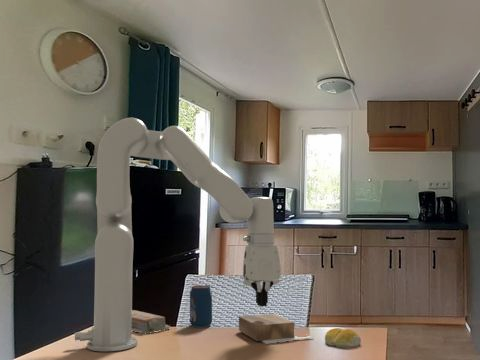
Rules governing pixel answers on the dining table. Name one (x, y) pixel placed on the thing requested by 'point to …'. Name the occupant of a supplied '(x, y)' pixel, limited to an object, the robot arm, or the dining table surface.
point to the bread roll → (342, 338)
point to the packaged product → (147, 322)
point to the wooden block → (266, 327)
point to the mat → (285, 339)
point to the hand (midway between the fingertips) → (261, 305)
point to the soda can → (200, 306)
